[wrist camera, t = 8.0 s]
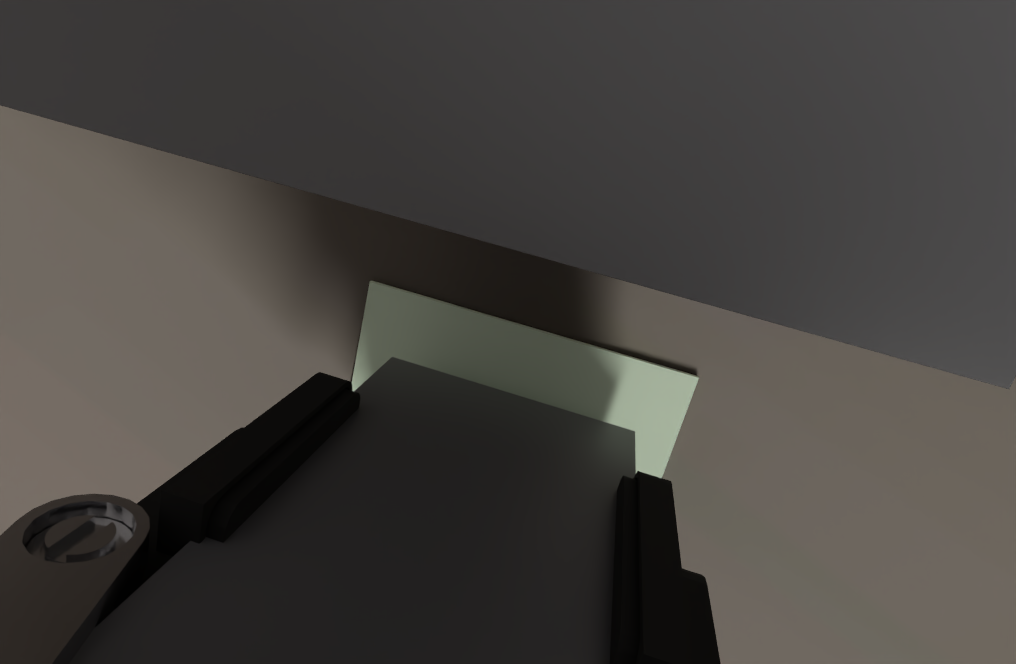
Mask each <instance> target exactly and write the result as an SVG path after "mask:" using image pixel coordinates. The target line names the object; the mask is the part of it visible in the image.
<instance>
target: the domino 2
mask: <svg viewBox="0 0 1016 664" xmlns="http://www.w3.org/2000/svg"><path fill="white" fill-rule="evenodd" d="M354 392H357V393H359V394H360V405H359V409H358V410H357V411H356V412H355V413H353V414H352V415H351V416H350V417H349V418H348V419H347V420H346V421H345V422H344V423H343V424H342V425H341V426H340V427H339V428H338V429H337V430H336V431H335V432H334V433H333V434H332V435H331V436H330V437H329V438H328V439H327V440H326V441H325V442H324V443H323V444H322V445H321V446H320V447H319V448H318V449H317V450H316V451H315V452H314V453H313V454H312V455H311V456H310V457H309V458H308V459H307V460H306V461H305V462H304V463H303V464H302V465H301V466H300V467H299V468H298V469H297V470H296V471H295V472H294V473H293V474H292V475H291V476H290V477H289V478H288V479H287V480H286V481H285V482H284V483H283V484H282V485H281V486H280V487H279V488H278V489H277V490H276V491H275V492H274V493H273V494H272V495H271V496H270V497H269V498H268V499H267V500H266V501H265V502H264V503H263V504H262V505H261V506H260V507H259V508H258V509H257V510H256V511H255V512H254V513H253V514H252V515H251V516H250V517H249V518H248V519H247V520H246V521H245V522H244V523H243V524H242V525H241V526H240V527H239V528H238V529H237V530H236V531H235V532H234V533H233V534H232V535H231V536H230V537H229V538H228V539H227V540H226V541H225V542H224V543H222V542H219V541H216V540H213V539H210V538H208V537H205V539H204V540H203V541H202V542H201V543H200V544H198V543H195V542H193V541H190V542H188V543H187V544H186V545H185V546H184V547H183V548H182V549H181V550H180V551H179V552H178V553H176V554H175V555H174V556H173V557H172V558H171V559H170V560H169V561H168V562H167V563H165V564H164V565H163V566H162V567H161V568H160V569H159V570H158V571H157V572H156V573H155V574H153V575H152V576H151V577H150V578H149V579H148V580H147V581H146V582H145V583H144V584H142V585H141V586H140V587H139V588H138V589H137V590H136V591H135V592H134V593H133V594H132V595H130V596H129V597H128V598H127V599H126V600H125V601H124V602H123V603H122V604H121V605H119V606H118V607H117V608H116V609H115V610H114V611H113V612H112V613H111V614H110V615H108V616H107V617H106V618H105V619H104V620H103V621H102V622H101V623H100V624H99V625H98V626H96V627H95V628H94V630H93V631H92V633H91V634H90V635H89V637H88V638H87V639H86V641H85V642H84V644H83V645H82V646H81V648H80V649H79V651H78V652H77V653H76V655H75V656H74V658H73V659H72V660H71V662H70V663H69V664H610V645H611V621H612V597H613V573H614V549H615V525H616V501H617V488H618V486H619V483H620V480H621V478H622V476H627V477H630V478H634V476H635V474H636V459H635V431H633V430H629V429H626V428H623V427H620V426H616V425H613V424H610V423H607V422H603V421H600V420H597V419H593V418H590V417H587V416H584V415H580V414H577V413H574V412H571V411H567V410H564V409H561V408H558V407H554V406H551V405H548V404H545V403H541V402H538V401H535V400H532V399H528V398H525V397H522V396H519V395H515V394H512V393H509V392H506V391H502V390H499V389H496V388H493V387H489V386H486V385H483V384H479V383H476V382H473V381H470V380H466V379H463V378H460V377H457V376H453V375H450V374H447V373H444V372H440V371H437V370H434V369H431V368H427V367H424V366H421V365H418V364H414V363H411V362H408V361H405V360H401V359H398V358H395V357H391V358H390V359H389V360H388V361H387V362H386V363H385V364H384V365H382V366H381V367H380V368H379V369H378V370H377V371H376V372H375V373H374V374H373V375H372V376H370V377H369V378H368V379H367V380H366V381H365V382H364V383H363V384H362V385H361V386H359V387H358V388H357V389H356V390H355V391H354Z"/></svg>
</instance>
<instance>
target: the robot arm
mask: <svg viewBox="0 0 1016 664" xmlns="http://www.w3.org/2000/svg"><path fill="white" fill-rule="evenodd" d="M352 390H353V389H352V383H351V382H350V381H347V380H343V379H340V378H337V377H334V376H331V375H327V374H324V373H321V372H319V373H317V374H315V375H314V376H313V377H311V378H310V379H309V380H307V381H306V382H305V383H303V384H302V385H301V386H299V387H298V388H297V389H295V390H294V391H293V392H291V393H290V394H289V395H287V396H286V397H285V398H283V399H282V400H281V401H279V402H278V403H277V404H275V405H274V406H273V407H271V408H270V409H269V410H267V411H266V412H265V413H263V414H262V415H261V416H259V417H258V418H257V419H255V420H254V421H253V422H251V423H250V424H249V425H247V426H246V427H245V428H240V429H238V430H236V431H234V432H233V433H232V434H230V435H229V436H228V437H226V438H225V439H224V440H222V441H221V442H219V443H218V444H217V445H215V446H214V447H213V448H211V449H210V450H209V451H207V452H206V453H205V454H203V455H202V456H201V457H199V458H198V459H196V460H195V461H194V462H192V463H191V464H190V465H188V466H187V467H186V468H184V469H183V470H182V471H180V472H179V473H178V474H176V475H175V476H174V477H172V478H171V479H169V480H168V481H167V482H165V483H164V484H163V485H161V486H160V487H159V488H157V489H156V490H155V491H153V492H152V493H151V494H149V495H148V496H147V497H145V498H144V499H142V500H141V501H140V502H138V503H137V504H136V503H134V502H133V501H131V500H129V499H125V498H122V497H118V496H114V495H104V494H86V495H74V496H69V497H65V498H61V499H57V500H53V501H50V502H48V503H46V504H43V505H41V506H39V507H36V508H34V509H32V510H31V511H29V512H28V513H26V514H25V515H24V516H22V517H21V518H19V519H18V520H17V521H16V522H15V523H13V524H12V525H11V526H10V527H9V528H8V529H7V530H6V531H5V532H4V533H3V534H2V535H0V664H69V663H70V662H71V660H72V659H73V658H74V656H75V655H76V653H77V652H78V651H79V649H80V648H81V646H82V645H83V644H84V642H85V641H86V639H87V638H88V637H89V635H90V634H91V633H92V631H93V630H94V628H95V627H96V626H98V625H99V624H100V623H101V622H102V621H103V620H104V619H105V618H106V617H107V616H108V615H110V614H111V613H112V612H113V611H114V610H115V609H116V608H117V607H118V606H119V605H121V604H122V603H123V602H124V601H125V600H126V599H127V598H128V597H129V596H130V595H132V594H133V593H134V592H135V591H136V590H137V589H138V588H139V587H140V586H141V585H142V584H144V583H145V582H146V581H147V580H148V579H149V578H150V577H151V576H152V575H153V574H155V573H156V572H157V571H158V570H159V569H160V568H161V567H162V566H163V565H164V564H165V563H167V562H168V561H169V560H170V559H171V558H172V557H173V556H174V555H175V554H176V553H178V552H179V551H180V550H181V549H182V548H183V547H184V546H185V545H186V544H187V543H188V542H190V541H193V542H195V543H198V544H200V543H201V542H202V541H203V540H204V539H205V537H208V538H210V539H213V540H216V541H219V542H222V543H224V542H225V541H226V540H227V539H228V538H229V537H230V536H231V535H232V534H233V533H234V532H235V531H236V530H237V529H238V528H239V527H240V526H241V525H242V524H243V523H244V522H245V521H246V520H247V519H248V518H249V517H250V516H251V515H252V514H253V513H254V512H255V511H256V510H257V509H258V508H259V507H260V506H261V505H262V504H263V503H264V502H265V501H266V500H267V499H268V498H269V497H270V496H271V495H272V494H273V493H274V492H275V491H276V490H277V489H278V488H279V487H280V486H281V485H282V484H283V483H284V482H285V481H286V480H287V479H288V478H289V477H290V476H291V475H292V474H293V473H294V472H295V471H296V470H297V469H298V468H299V467H300V466H301V465H302V464H303V463H304V462H305V461H306V460H307V459H308V458H309V457H310V456H311V455H312V454H313V453H314V452H315V451H316V450H317V449H318V448H319V447H320V446H321V445H322V444H323V443H324V442H325V441H326V440H327V439H328V438H329V437H330V436H331V435H332V434H333V433H334V432H335V431H336V430H337V429H338V428H339V427H340V426H341V425H342V424H343V423H344V422H345V421H346V420H347V419H348V418H349V417H350V416H351V415H352V414H353V413H355V412H356V411H357V410H358V409H359V405H360V394H359V393H357V392H354V391H352ZM610 664H720V658H719V652H718V646H717V640H716V634H715V628H714V623H713V617H712V611H711V605H710V599H709V593H708V587H707V583H706V579H705V577H704V576H702V575H700V574H697V573H694V572H691V571H688V570H685V569H682V567H681V558H680V550H679V541H678V533H677V524H676V515H675V507H674V498H673V490H672V483H671V481H669V480H665V479H662V478H659V477H656V476H652V475H649V474H646V473H643V472H640V471H637V473H636V474H635V476H634V478H630V477H627V476H622V478H621V480H620V483H619V486H618V488H617V501H616V525H615V549H614V573H613V597H612V621H611V645H610Z"/></svg>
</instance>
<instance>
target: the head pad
mask: <svg viewBox="0 0 1016 664" xmlns="http://www.w3.org/2000/svg"><path fill="white" fill-rule="evenodd" d="M391 357H395V358H398V359H401V360H405V361H408V362H411V363H414V364H418V365H421V366H424V367H427V368H431V369H434V370H437V371H440V372H444V373H447V374H450V375H453V376H457V377H460V378H463V379H466V380H470V381H473V382H476V383H479V384H483V385H486V386H489V387H493V388H496V389H499V390H502V391H506V392H509V393H512V394H515V395H519V396H522V397H525V398H528V399H532V400H535V401H538V402H541V403H545V404H548V405H551V406H554V407H558V408H561V409H564V410H567V411H571V412H574V413H577V414H580V415H584V416H587V417H590V418H593V419H597V420H600V421H603V422H607V423H610V424H613V425H616V426H620V427H623V428H626V429H629V430H633V431H635V459H636V473H637V471H640V472H643V473H646V474H649V475H652V476H656V477H659V478H662V476H663V473H664V470H665V468H666V465H667V462H668V460H669V457H670V454H671V452H672V449H673V446H674V444H675V441H676V438H677V436H678V433H679V430H680V428H681V425H682V422H683V419H684V417H685V414H686V411H687V409H688V406H689V403H690V401H691V398H692V395H693V393H694V390H695V387H696V385H697V382H698V379H699V376H696V375H693V374H690V373H686V372H683V371H679V370H676V369H672V368H669V367H666V366H662V365H659V364H655V363H652V362H649V361H645V360H642V359H638V358H635V357H632V356H628V355H625V354H621V353H618V352H614V351H611V350H608V349H604V348H601V347H597V346H594V345H591V344H587V343H584V342H580V341H577V340H574V339H570V338H567V337H563V336H560V335H556V334H553V333H550V332H546V331H543V330H539V329H536V328H533V327H529V326H526V325H522V324H519V323H515V322H512V321H509V320H505V319H502V318H498V317H495V316H492V315H488V314H485V313H481V312H478V311H475V310H471V309H468V308H464V307H461V306H457V305H454V304H451V303H447V302H444V301H440V300H437V299H434V298H430V297H427V296H423V295H420V294H417V293H413V292H410V291H406V290H403V289H399V288H396V287H393V286H389V285H386V284H382V283H379V282H376V281H372V280H371V281H370V283H369V289H368V294H367V300H366V306H365V311H364V317H363V322H362V328H361V333H360V339H359V345H358V350H357V356H356V361H355V367H354V373H353V378H352V389H353V390H352V391H355V390H356V389H357V388H358V387H359V386H361V385H362V384H363V383H364V382H365V381H366V380H367V379H368V378H369V377H370V376H372V375H373V374H374V373H375V372H376V371H377V370H378V369H379V368H380V367H381V366H382V365H384V364H385V363H386V362H387V361H388V360H389V359H390V358H391Z"/></svg>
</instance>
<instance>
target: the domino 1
mask: <svg viewBox="0 0 1016 664" xmlns="http://www.w3.org/2000/svg"><path fill="white" fill-rule="evenodd" d="M0 105H1V106H5V107H9V108H12V109H16V110H19V111H23V112H26V113H30V114H33V115H37V116H41V117H44V118H48V119H51V120H55V121H58V122H62V123H65V124H69V125H73V126H76V127H80V128H83V129H87V130H90V131H94V132H97V133H101V134H104V135H108V136H112V137H115V138H119V139H122V140H126V141H129V142H133V143H136V144H140V145H144V146H147V147H151V148H154V149H158V150H161V151H165V152H168V153H172V154H175V155H179V156H183V157H186V158H190V159H193V160H197V161H200V162H204V163H207V164H211V165H215V166H218V167H222V168H225V169H229V170H232V171H236V172H239V173H243V174H246V175H250V176H254V177H257V178H261V179H264V180H268V181H271V182H275V183H278V184H282V185H286V186H289V187H293V188H296V189H300V190H303V191H307V192H310V193H314V194H318V195H321V196H325V197H328V198H332V199H335V200H339V201H342V202H346V203H349V204H353V205H357V206H360V207H364V208H367V209H371V210H374V211H378V212H381V213H385V214H389V215H392V216H396V217H399V218H403V219H406V220H410V221H413V222H417V223H420V224H424V225H428V226H431V227H435V228H438V229H442V230H445V231H449V232H452V233H456V234H460V235H463V236H467V237H470V238H474V239H477V240H481V241H484V242H488V243H491V244H495V245H499V246H502V247H506V248H509V249H513V250H516V251H520V252H523V253H527V254H531V255H534V256H538V257H541V258H545V259H548V260H552V261H555V262H559V263H563V264H566V265H570V266H573V267H577V268H580V269H584V270H587V271H591V272H594V273H598V274H602V275H605V276H609V277H612V278H616V279H619V280H623V281H626V282H630V283H634V284H637V285H641V286H644V287H648V288H651V289H655V290H658V291H662V292H665V293H669V294H673V295H676V296H680V297H683V298H687V299H690V300H694V301H697V302H701V303H705V304H708V305H712V306H715V307H719V308H722V309H726V310H729V311H733V312H736V313H740V314H744V315H747V316H751V317H754V318H758V319H761V320H765V321H768V322H772V323H776V324H779V325H783V326H786V327H790V328H793V329H797V330H800V331H804V332H808V333H811V334H815V335H818V336H822V337H825V338H829V339H832V340H836V341H839V342H843V343H847V344H850V345H854V346H857V347H861V348H864V349H868V350H871V351H875V352H879V353H882V354H886V355H889V356H893V357H896V358H900V359H903V360H907V361H910V362H914V363H918V364H921V365H925V366H928V367H932V368H935V369H939V370H942V371H946V372H950V373H953V374H957V375H960V376H964V377H967V378H971V379H974V380H978V381H981V382H985V383H989V384H992V385H996V386H999V387H1003V388H1006V389H1009V388H1010V386H1011V384H1012V382H1013V381H1014V379H1015V377H1016V0H0Z"/></svg>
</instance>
